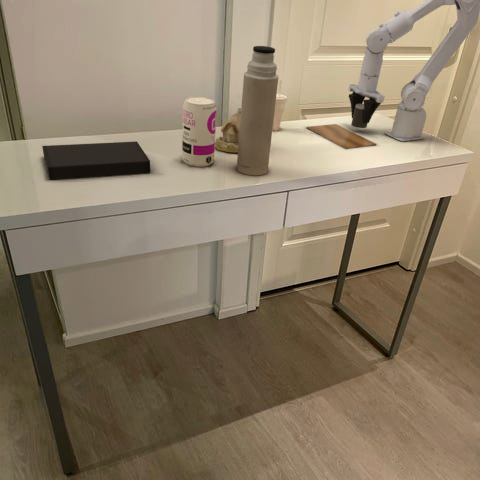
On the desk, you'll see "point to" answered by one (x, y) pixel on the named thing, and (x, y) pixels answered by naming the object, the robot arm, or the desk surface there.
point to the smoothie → (279, 109)
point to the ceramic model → (230, 134)
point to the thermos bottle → (257, 112)
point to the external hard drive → (95, 160)
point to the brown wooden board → (341, 136)
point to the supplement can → (198, 131)
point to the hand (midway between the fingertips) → (360, 120)
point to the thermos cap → (358, 116)
